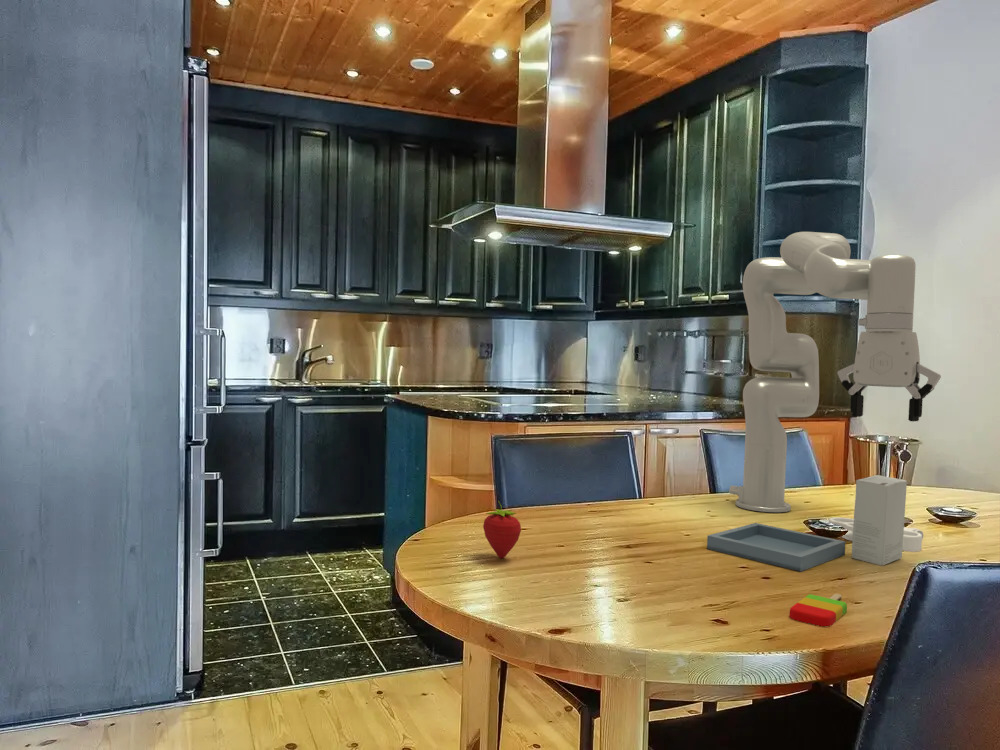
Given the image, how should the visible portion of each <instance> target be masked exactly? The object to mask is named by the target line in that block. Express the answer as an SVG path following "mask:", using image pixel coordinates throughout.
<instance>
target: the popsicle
mask: <svg viewBox="0 0 1000 750" xmlns="http://www.w3.org/2000/svg"><path fill="white" fill-rule="evenodd" d="M842 597H843V595H842V594H840V593H834V594H833V595H832V596H831V597H829V598H828V597H824V596H820V595H815V594H811V593H809V594H808V595H806V596H805V597H803V598H802V599H801V600H799V601H798V602H796V603H795V604H793V605H792V606H791V607H789V608H790V609H789V618H790V619H791V618H792V619H791V620H793V619H794V621H797V620H798V621H797V622H800V621H801V622H802V623H804V622H806V624H808V623H811V624H810V625H812V624H815V625H814V626H816V625H819V626H818V627H821V626H829V627H831V626H833V623H834V622H835V621H836V620H837V621H838V620H840V619H841V616H842V615H843V614H844V615H846V613H847V611H848V604H847V603H846V602H845V601H842V600H840V599H841V598H842ZM844 615H843V616H844ZM843 616H842V617H843ZM837 621H836V622H837ZM801 622H800V623H801ZM836 622H835V623H836ZM835 623H834V624H835ZM830 625H831V626H830Z"/></svg>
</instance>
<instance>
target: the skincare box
mask: <svg viewBox="0 0 1000 750" xmlns="http://www.w3.org/2000/svg"><path fill="white" fill-rule="evenodd" d="M907 485H908V481H907V480H906V479H901V478H900V479H899V478H895V477H891V476H890V477H889V476H884V475H880V474H879V475H878V474H875V475H871V476H868V477H863V478H860V479H856V481H855V500H854V511H853V519H854V525H853V540H852V541H851V558H853V559H855V560H858V561H863V562H867V563H870V564H874V565H878V566H885V565H888V564H890V563H892V562H894V561H897V560H900V559H902V557H903V551H902V548H903V532H904V527H905V515H906V502H907V501H906V499H907Z"/></svg>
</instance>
